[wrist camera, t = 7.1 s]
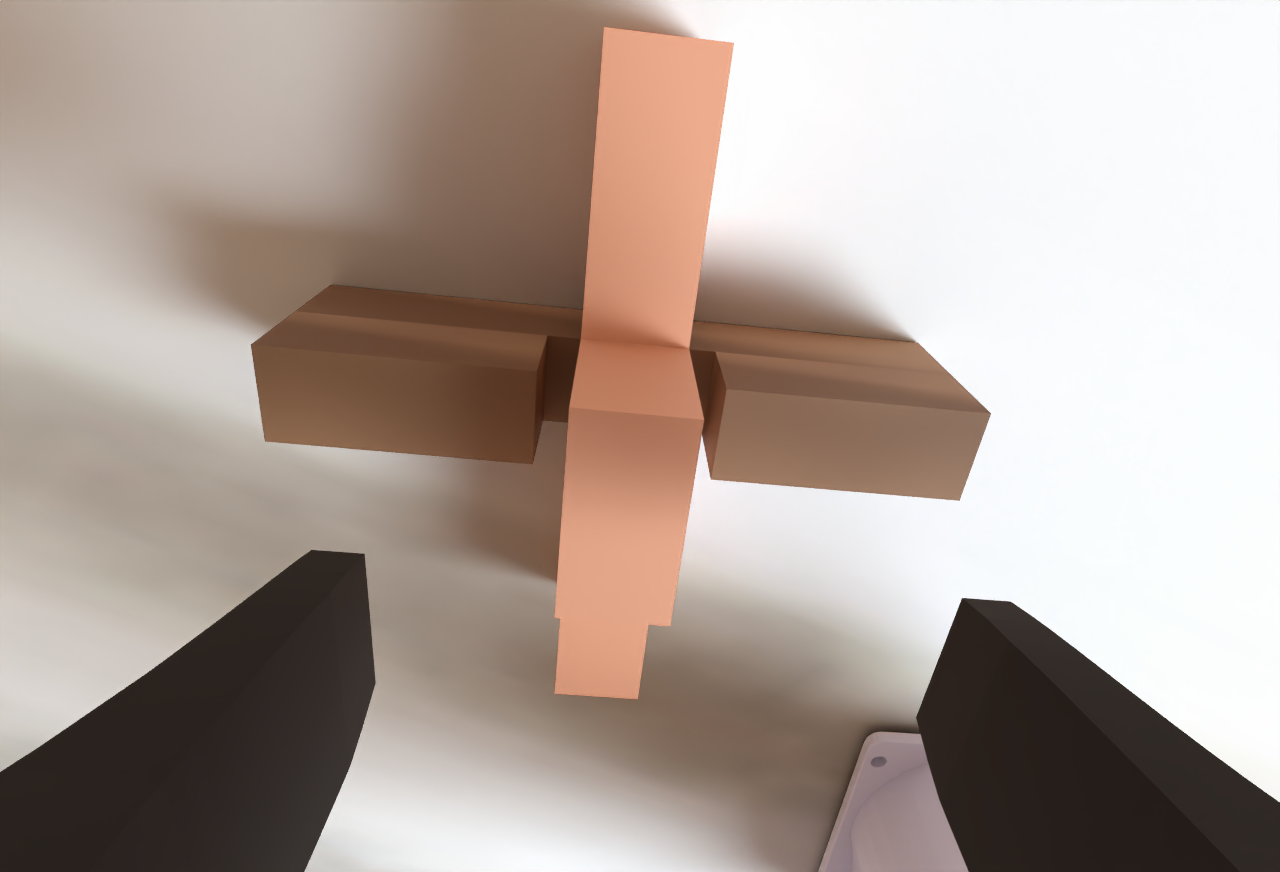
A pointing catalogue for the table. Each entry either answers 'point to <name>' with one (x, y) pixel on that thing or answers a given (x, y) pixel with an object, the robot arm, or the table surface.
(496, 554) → the table surface
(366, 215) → the table surface
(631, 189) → the salmon stepped block
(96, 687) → the table surface
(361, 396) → the walnut notched bar
